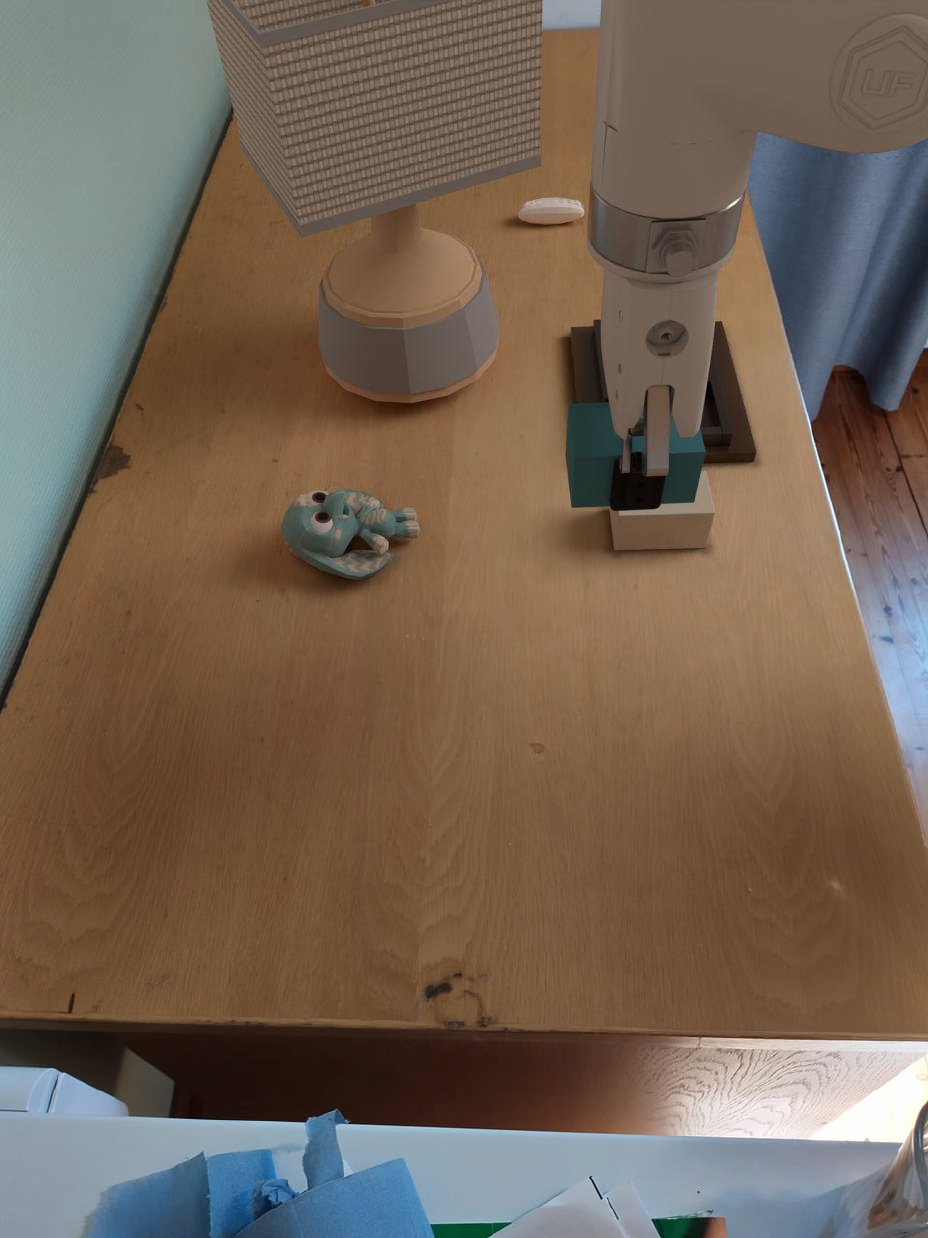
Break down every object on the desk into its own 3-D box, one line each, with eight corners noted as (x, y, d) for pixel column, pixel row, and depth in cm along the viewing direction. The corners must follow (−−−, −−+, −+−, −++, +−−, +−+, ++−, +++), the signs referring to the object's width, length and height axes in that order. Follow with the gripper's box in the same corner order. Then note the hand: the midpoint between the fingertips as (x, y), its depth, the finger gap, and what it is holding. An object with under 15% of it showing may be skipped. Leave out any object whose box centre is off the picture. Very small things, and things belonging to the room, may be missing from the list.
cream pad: (698, 506, 80) (706, 470, 77) (706, 548, 77) (715, 512, 74) (609, 508, 81) (613, 473, 77) (614, 550, 78) (618, 515, 74)
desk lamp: (465, 284, 103) (442, -115, 73) (544, 377, 92) (555, -45, 63) (287, 342, 98) (186, -60, 68) (349, 447, 87) (261, 26, 58)
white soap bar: (583, 226, 108) (585, 204, 106) (518, 228, 109) (518, 206, 107) (582, 212, 110) (584, 190, 108) (518, 215, 111) (518, 193, 108)
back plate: (720, 330, 95) (724, 308, 93) (754, 461, 83) (760, 439, 81) (570, 336, 96) (571, 314, 94) (582, 466, 84) (584, 445, 82)
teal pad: (682, 449, 61) (692, 397, 57) (694, 502, 58) (705, 451, 54) (565, 455, 61) (568, 403, 58) (571, 508, 58) (574, 457, 55)
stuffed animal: (434, 533, 73) (285, 542, 70) (425, 589, 78) (287, 600, 76) (412, 446, 79) (274, 450, 76) (405, 503, 85) (277, 510, 82)
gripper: (775, 313, 40) (707, 572, 54) (709, 129, 50) (667, 389, 64) (605, 321, 40) (584, 577, 54) (574, 137, 50) (563, 394, 65)
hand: (629, 473), depth 59 cm, fingers closed on teal pad, 5 cm apart
